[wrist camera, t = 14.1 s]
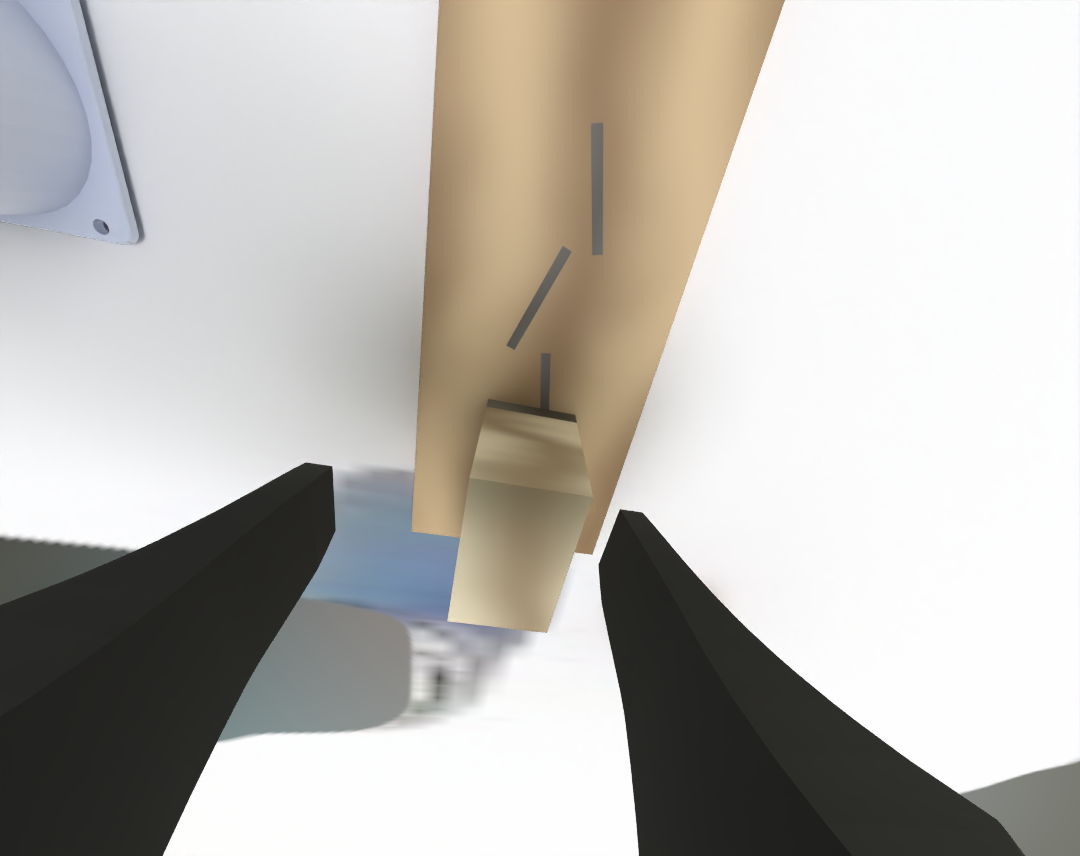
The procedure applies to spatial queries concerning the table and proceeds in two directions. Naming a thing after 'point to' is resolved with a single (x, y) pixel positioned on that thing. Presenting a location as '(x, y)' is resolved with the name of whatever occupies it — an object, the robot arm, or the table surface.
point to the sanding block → (520, 518)
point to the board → (568, 215)
